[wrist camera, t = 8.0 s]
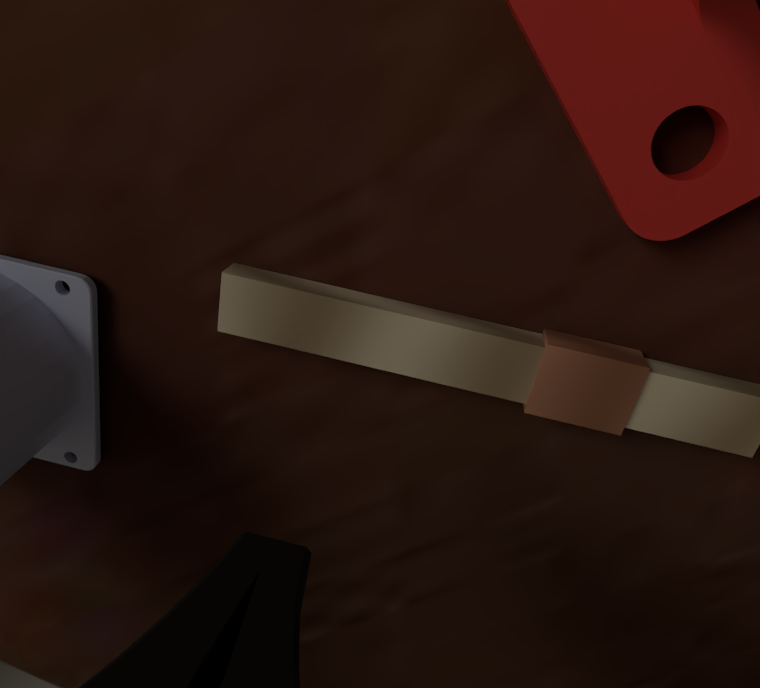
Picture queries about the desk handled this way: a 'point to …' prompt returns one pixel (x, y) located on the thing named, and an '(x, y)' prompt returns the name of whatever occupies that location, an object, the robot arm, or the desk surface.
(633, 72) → the bracket
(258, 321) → the guide track
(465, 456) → the desk surface
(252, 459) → the desk surface
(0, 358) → the robot arm
